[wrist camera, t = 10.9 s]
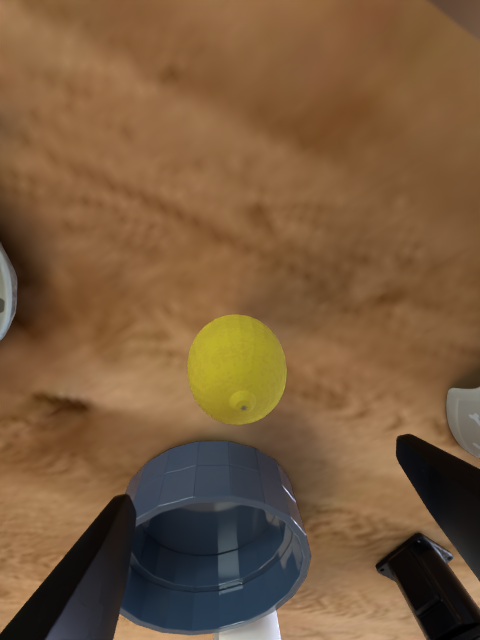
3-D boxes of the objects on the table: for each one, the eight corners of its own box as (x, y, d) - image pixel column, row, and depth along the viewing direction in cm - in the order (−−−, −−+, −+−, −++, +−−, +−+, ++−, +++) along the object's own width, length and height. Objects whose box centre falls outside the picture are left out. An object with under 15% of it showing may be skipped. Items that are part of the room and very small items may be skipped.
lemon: (207, 380, 19) (202, 473, 11) (183, 314, 17) (156, 371, 10) (277, 360, 19) (317, 439, 11) (259, 291, 17) (292, 331, 10)
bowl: (323, 487, 23) (350, 549, 19) (222, 578, 26) (224, 652, 21) (193, 406, 20) (186, 459, 15) (90, 522, 22) (56, 599, 17)
